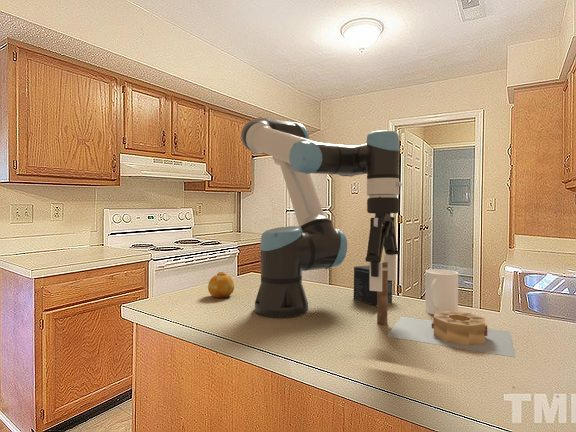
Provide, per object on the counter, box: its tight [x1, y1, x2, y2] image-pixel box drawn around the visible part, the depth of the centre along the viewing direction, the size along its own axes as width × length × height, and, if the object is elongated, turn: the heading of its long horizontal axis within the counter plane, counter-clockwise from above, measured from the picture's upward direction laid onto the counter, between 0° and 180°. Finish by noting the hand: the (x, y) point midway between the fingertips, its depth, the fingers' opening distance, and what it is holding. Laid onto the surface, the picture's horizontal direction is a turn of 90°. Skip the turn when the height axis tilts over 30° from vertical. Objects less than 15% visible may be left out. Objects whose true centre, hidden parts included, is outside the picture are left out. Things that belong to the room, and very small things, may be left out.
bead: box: [432, 310, 488, 345], centre depth 81 cm, size 11×10×4 cm
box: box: [352, 264, 393, 307], centre depth 115 cm, size 11×7×10 cm, turn 34°
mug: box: [424, 268, 459, 316], centre depth 98 cm, size 12×8×12 cm
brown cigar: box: [376, 261, 388, 326], centre depth 90 cm, size 2×2×16 cm
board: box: [386, 316, 516, 358], centre depth 83 cm, size 24×16×1 cm, turn 62°
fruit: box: [207, 271, 235, 299], centre depth 121 cm, size 8×8×8 cm
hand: (383, 285), depth 90 cm, fingers open, 13 cm apart
